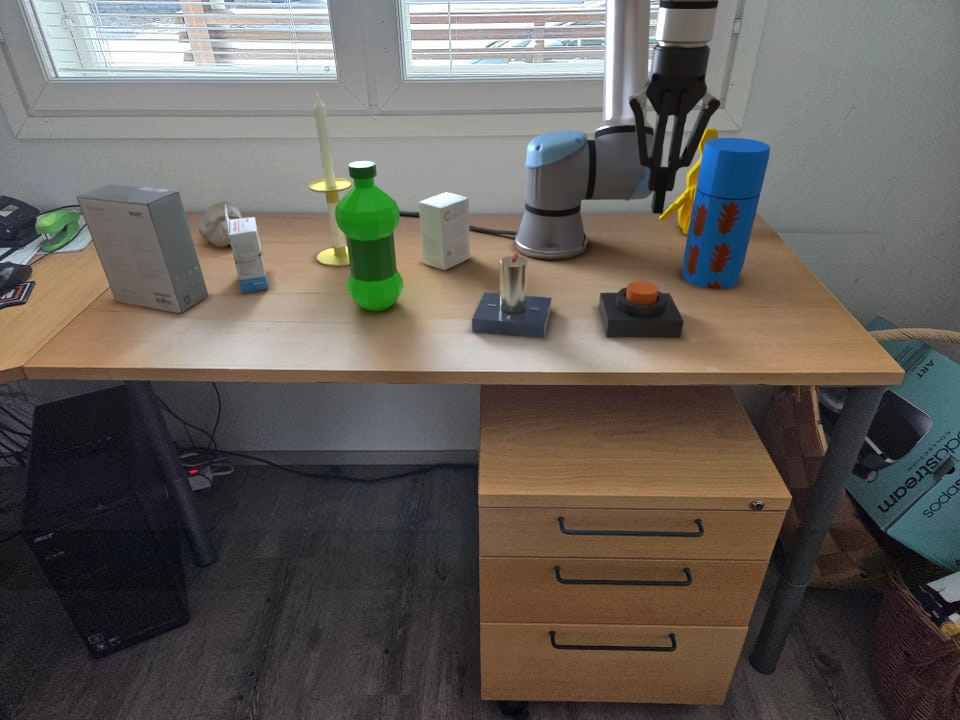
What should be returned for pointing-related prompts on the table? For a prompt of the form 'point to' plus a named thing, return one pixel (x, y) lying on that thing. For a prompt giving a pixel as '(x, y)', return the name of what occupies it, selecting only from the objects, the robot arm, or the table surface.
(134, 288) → the hard drive box
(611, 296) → the black button base
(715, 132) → the figure statuette
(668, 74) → the robot arm
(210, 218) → the fossil replica
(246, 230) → the ink box
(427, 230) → the small box
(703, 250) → the thermos
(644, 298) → the button
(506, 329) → the dial panel
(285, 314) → the table surface
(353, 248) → the plastic bottle
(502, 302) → the dial knob
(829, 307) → the table surface
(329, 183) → the candle
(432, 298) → the table surface
